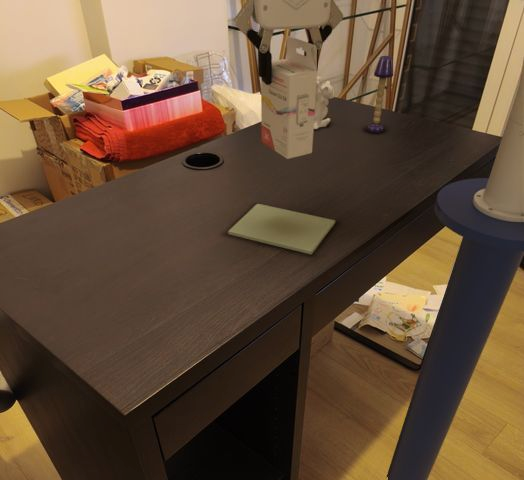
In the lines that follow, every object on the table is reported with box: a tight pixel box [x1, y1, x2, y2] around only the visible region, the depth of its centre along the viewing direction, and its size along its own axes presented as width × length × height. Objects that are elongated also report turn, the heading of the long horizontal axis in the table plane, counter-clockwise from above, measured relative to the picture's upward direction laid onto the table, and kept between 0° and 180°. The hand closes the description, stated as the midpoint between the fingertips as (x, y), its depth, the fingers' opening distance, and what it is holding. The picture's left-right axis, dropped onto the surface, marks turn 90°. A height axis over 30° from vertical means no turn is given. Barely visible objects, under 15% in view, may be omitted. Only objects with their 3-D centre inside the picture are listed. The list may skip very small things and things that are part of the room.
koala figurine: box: [314, 75, 336, 130], centre depth 123 cm, size 8×7×12 cm
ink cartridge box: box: [260, 35, 318, 160], centre depth 72 cm, size 9×5×15 cm, turn 30°
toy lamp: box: [366, 55, 394, 134], centre depth 119 cm, size 5×5×17 cm
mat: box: [227, 203, 336, 255], centre depth 87 cm, size 16×12×1 cm
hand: (287, 79), depth 70 cm, fingers closed on ink cartridge box, 5 cm apart
